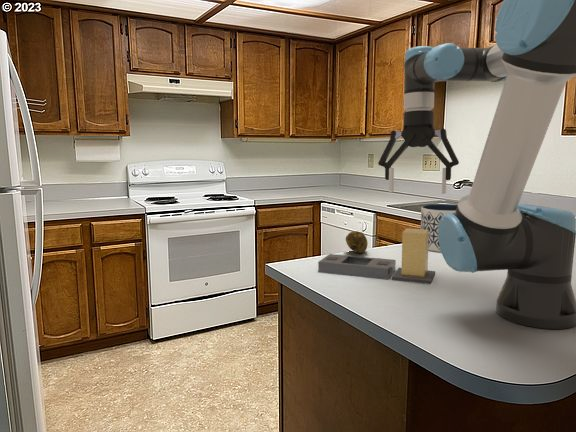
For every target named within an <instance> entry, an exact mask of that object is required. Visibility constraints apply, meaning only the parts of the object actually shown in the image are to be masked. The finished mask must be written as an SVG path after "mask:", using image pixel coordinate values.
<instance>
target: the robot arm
mask: <svg viewBox="0 0 576 432" xmlns="http://www.w3.org/2000/svg"><path fill="white" fill-rule="evenodd" d="M494 31H495V32H496V33H495V36H494V38H495V39H494V40H495V43H496V44H494V45H491V46H488V47H459V46H458V45H456V44H455V43H450V42H448V43H447V42H446V43H443V44H442V43H441V44H438V45H437V46H434V47H433V46H431V45H429V46H428V45H421V46H419V45H418V46H414V47H410V48H407V50H406V51H405V53H404V62H403V68H404V69H403V70H404V72H403V74H404V75H403V80H404V81H403V82H404V83H403V84H404V85H403V86H404V87H403V91H404V92H403V110H404V111H405V112H404V113H403V124H402V125H403V128H402V130H401V131H398V130H391V131H390V138H389V140H388V143H386V147H385V148H384V150H383V153H382V154H381V157H380V158H379V161H378V162H377V163H378V164H377V165H378V166H381V167H383V168H384V178H385V180H386V181H388V193H389V194H390V193H394V189H395V188H394V186H395V183H394V182H395V181H394V179H395V168H394V167H392V166H393V165H394V163H396V161H397V160H398V159H399V158H400V157H401V156H402V154H403V153H404V152H405V151H406V150H407V149H408V148H409V147H411V148H417V147H418V148H425V147H428V148H429V149H430V150H431V151H432V152H433V154H434V155H436V157H437V158H438V159H439V160H440V162H441V163H442V164H443V165H444V166H445V167H442V171H441V172H442V176H441V177H442V179H441V195H442V194H443V195H444V194H446V193H447V181H451V179H452V168H453V167H455V166H458V165H459V164H460V162H459V158H458V157H457V156H456V152H455V151H454V149H453V147H452V145H451V143H450V141H449V138H448V136H447V130H446V129H445V128H441V129H437V130H436V129H435V128H434V123H435V121H434V120H435V113H434V111H433V110H434V108H435V83H438V82H491V83H499V82H504V83H503V87H502V90H501V93H500V96H499V99H498V103H497V105H496V109H495V112H494V115H493V119H492V121H491V125H490V128H489V131H488V134H487V137H486V141H485V144H484V147H483V149H482V150H483V151H482V154H481V157H480V159H479V160H480V161H479V163H478V166H477V169H476V172H475V176H474V179H473V182H472V184H471V189H470V192H469V194H468V195H465V196H462V197H461V198H460V199H459V200H458V203H457V204H456V205H457V208H456V212H455V213H454V214H451V213H448V214H446V215H445V216H443V217H442V218H441V219H440V222H439V225H438V240H439V245H440V250H441V252H440V253H441V255H442V258H443V259H444V261H445V263H446V265H448V267H449V268H450V269H452V270H454V271H456V272H458V273H477V272H487V271H488V272H491V271H504V270H507V273H506V274H507V275H506V277H505V280H504V283H503V285H502V287H501V290H500V292H499V293H498V296H497V298H496V303H495V305H496V306H495V311H496V313H497V314H498V315H499V316H500V317H502V318H504V319H505V320H507V321H510V322H513V323H515V324H519V325H522V326H525V327H526V326H527V327H532V328H538V329H547V330H549V329H550V330H560V329H561V330H562V329H570V328H572V327H575V326H576V297H575V292H574V289H573V286H572V277H573V265H574V253H575V246H576V244H575V243H576V216H575V214H574V213H573V212H572V211H569V210H565V209H561V208H554V207H550V206H548V207H547V206H542V205H534V204H524V203H520V201H521V199H522V196H523V193H524V191H525V189H526V185H527V182H528V180H529V178H530V175H531V172H532V170H533V168H534V165H535V163H536V159H537V157H538V155H539V153H540V149H541V147H542V144H543V142H544V139H545V137H546V134H547V131H548V129H549V126H550V124H551V122H552V119H553V117H554V114H555V111H556V109H557V106H558V104H559V100H560V99H561V96H562V93H563V90H564V88H565V86H566V83H567V82H568V81H570V80H571V79H573V78H574V77H576V0H503V1H502V3H501V6H500V7H499V9H498V14H497V16H496V21H495V28H494ZM435 136H437V137H438V138H439V139H440V140H441V142H442V144H443V146H444V147H445V150H446V152H447V154H448V156H449V157H450V160H451V161H450V160H448V159H447V157H446V156H445V155H444V154H443V153H442V152H441V151H440V149H439V148H438V147H437V146H436V145H435V143H434V142H433V141H432V140H433V138H435ZM401 137H402V139H403V140H404V142H402V144H401V145H400V146H399V148H398V149H397V150H396V151H395V152H394V153H393V154H392V156H391V157H390V158H389V156H390V154H391V153H392V149H393V147H395V144H396V142H397V140H399V139H400V138H401ZM388 158H389V159H388ZM387 160H388V161H387Z"/></svg>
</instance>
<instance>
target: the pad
mask: <svg viewBox="0 0 576 432" xmlns="http://www.w3.org/2000/svg"><path fill="white" fill-rule="evenodd" d="M401 271H402V267H398V268H397V270H395V271H394V272H393V274H392V275H391V280H392V281H399V282H408V283H418V284H424V285H425V284H427V285H431V284H432V281H433V279H434V277H435V275H436V270H427V274H426V276H425V278H417V277H408V276H401Z"/></svg>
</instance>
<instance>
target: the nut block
mask: <svg viewBox="0 0 576 432" xmlns="http://www.w3.org/2000/svg"><path fill="white" fill-rule="evenodd" d="M428 241H429V230H425V229H421V228H408V227H407V228H405V229H404V230H403V231H402V235H401V268H402V271H401V276H408V277H417V278H425V276H426V274H427V270H428V266H429V265H428V264H429V262H428V261H429V250H428Z"/></svg>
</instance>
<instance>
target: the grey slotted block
mask: <svg viewBox="0 0 576 432" xmlns="http://www.w3.org/2000/svg"><path fill="white" fill-rule="evenodd" d="M396 262H397V260H396V259H390V258H389V259H388V258H381V257H380V258H378V257H368V256H367V257H366V256H356V255H346V254H334V253H330V254H328V255H326V256H324V257H323V258H322V259H319V261H318V262H317V263H318V264H317V266H318V270H317V271H318V273H325V274H335V275H345V276H354V277H363V278H371V279H382V280H389V279H390V278H391V277H392V276H393V275H394V273H395V272H396Z"/></svg>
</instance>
